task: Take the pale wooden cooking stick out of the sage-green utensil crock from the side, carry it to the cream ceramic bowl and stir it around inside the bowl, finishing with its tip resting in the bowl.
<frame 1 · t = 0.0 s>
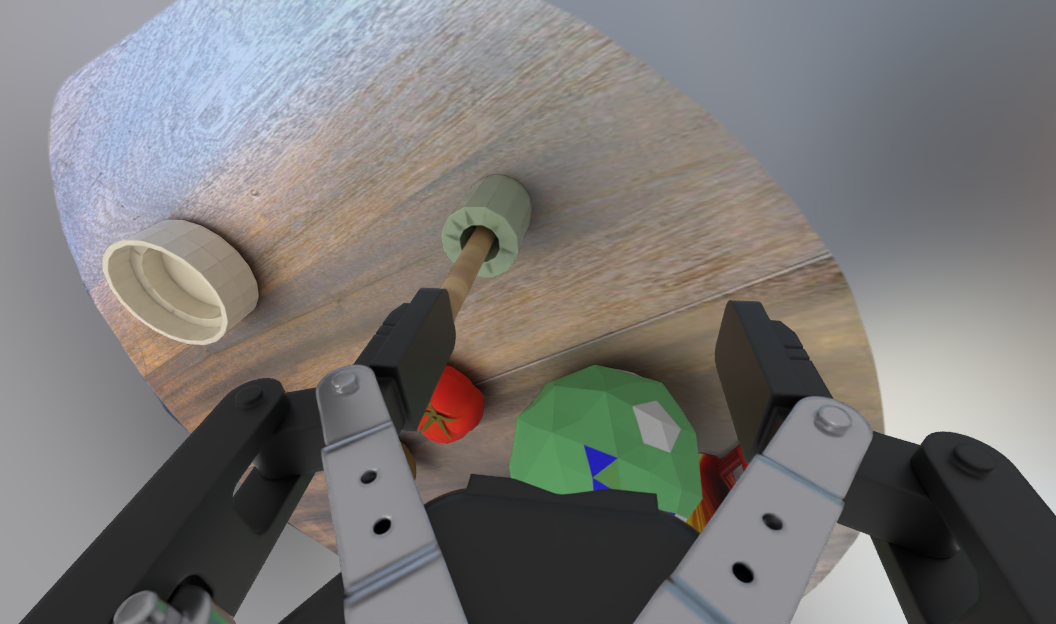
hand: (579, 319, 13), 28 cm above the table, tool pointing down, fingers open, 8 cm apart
crock: (499, 207, 41), on the table
stick: (497, 211, 40), point 1 cm above the table, touching crock
potato: (405, 445, 65), on the table
tomato: (448, 382, 56), on the table
mug: (697, 464, 58), on the table
decorative sphere: (603, 394, 53), on the table
bowl: (208, 269, 51), on the table
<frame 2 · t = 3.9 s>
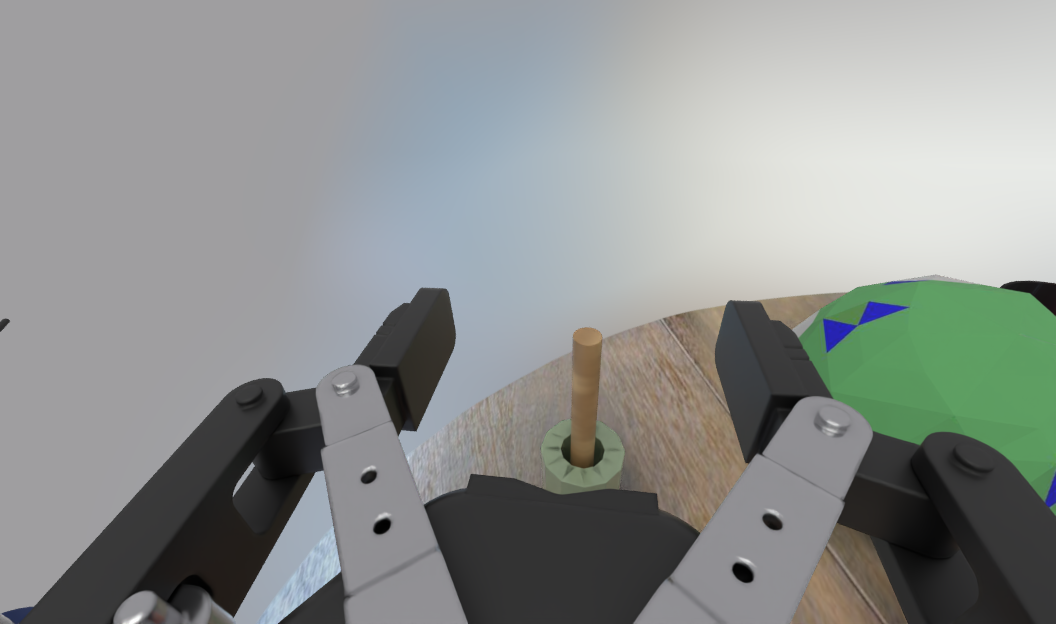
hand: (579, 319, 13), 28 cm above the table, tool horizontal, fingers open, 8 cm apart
crock: (579, 507, 37), on the table
stick: (580, 501, 37), point 1 cm above the table, touching crock
mug: (968, 401, 45), on the table
decorative sphere: (868, 475, 39), on the table
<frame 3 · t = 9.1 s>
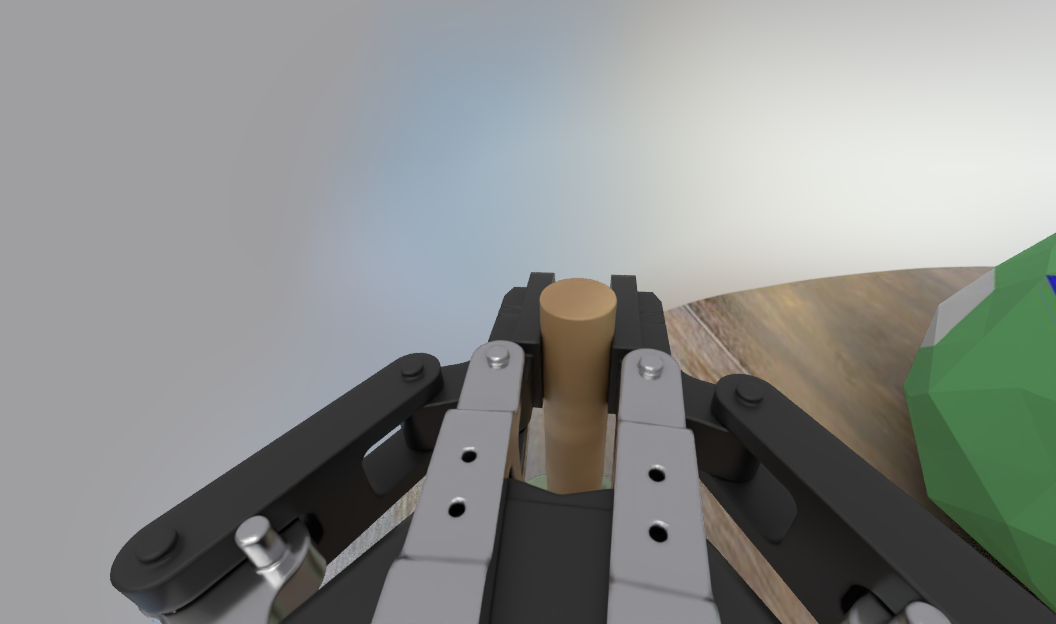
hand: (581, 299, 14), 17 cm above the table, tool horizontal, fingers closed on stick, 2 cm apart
stick: (571, 619, 20), point 1 cm above the table, touching crock, gripper
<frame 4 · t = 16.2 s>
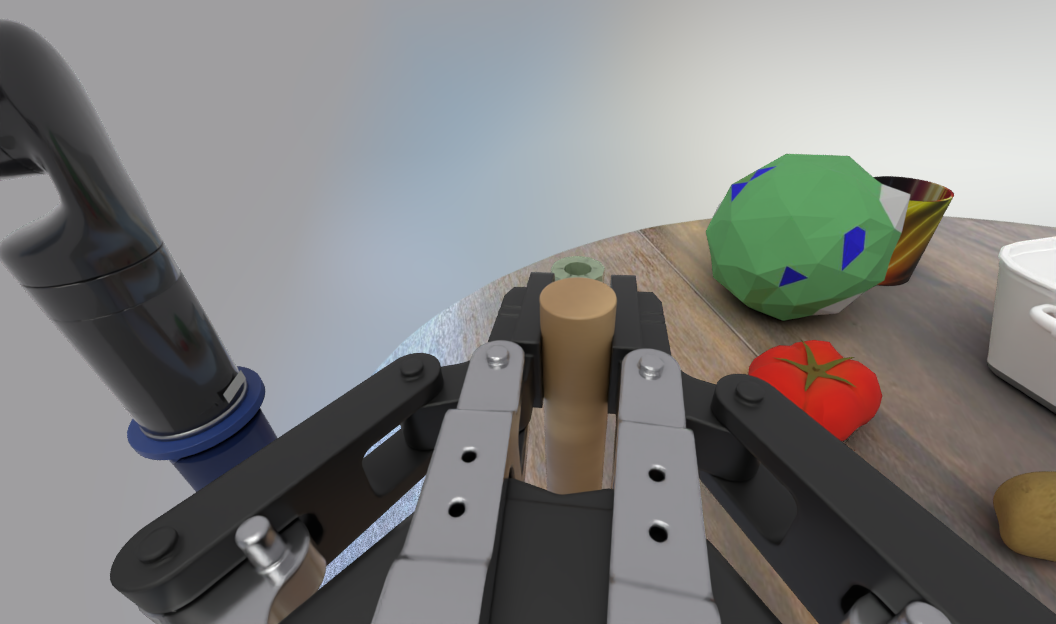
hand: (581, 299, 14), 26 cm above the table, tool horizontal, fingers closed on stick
crock: (576, 322, 56), on the table
stick: (571, 618, 20), point 10 cm above the table, touching gripper
potato: (1033, 549, 31), on the table
tomato: (795, 415, 42), on the table
mug: (851, 268, 64), on the table
decorative sphere: (772, 304, 57), on the table
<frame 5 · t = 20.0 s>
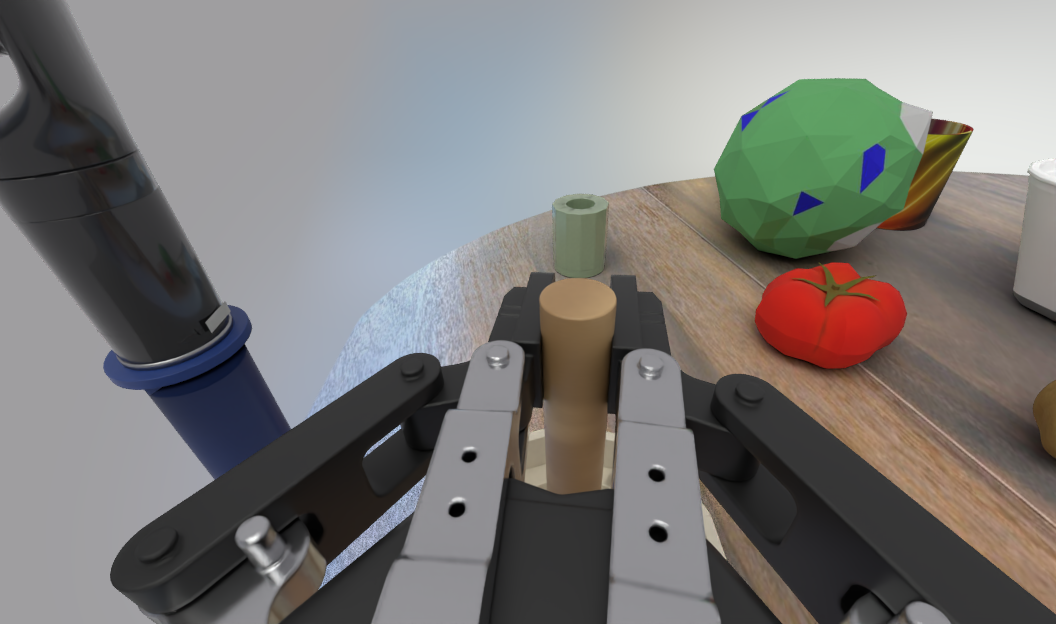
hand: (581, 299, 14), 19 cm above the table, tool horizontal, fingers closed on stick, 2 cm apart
crock: (579, 265, 53), on the table
stick: (571, 619, 20), point 3 cm above the table, touching gripper
tomato: (812, 343, 40), on the table
mug: (864, 216, 62), on the table
decorative sphere: (782, 247, 55), on the table
bowl: (573, 595, 23), on the table
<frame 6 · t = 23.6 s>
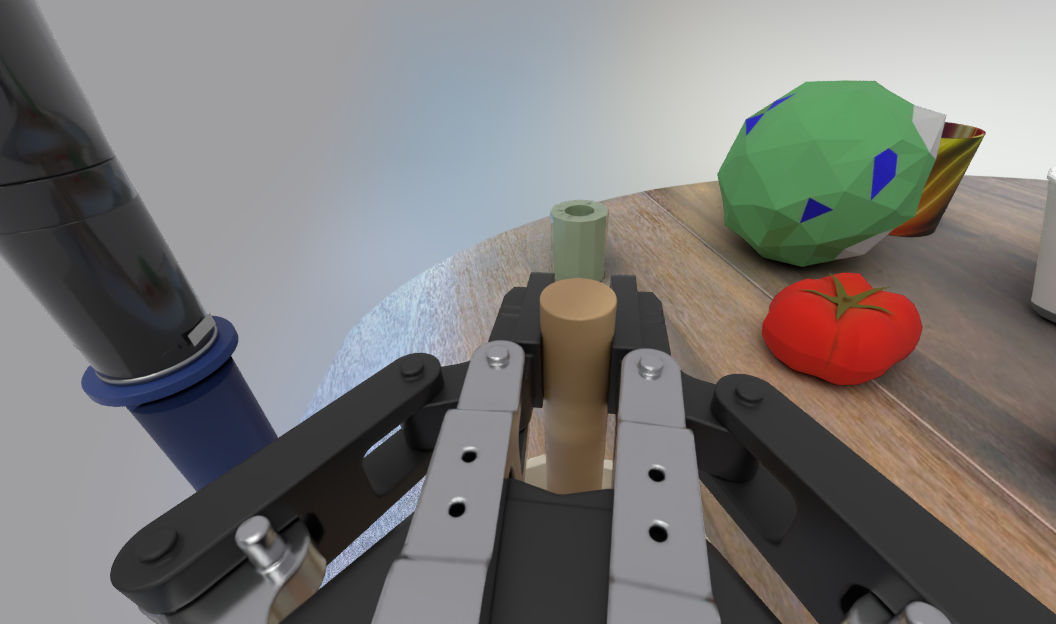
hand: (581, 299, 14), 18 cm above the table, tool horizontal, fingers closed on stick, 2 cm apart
crock: (578, 273, 52), on the table
stick: (571, 619, 20), point 2 cm above the table, touching gripper
tomato: (822, 357, 38), on the table
mug: (871, 221, 60), on the table
decorative sphere: (788, 254, 53), on the table
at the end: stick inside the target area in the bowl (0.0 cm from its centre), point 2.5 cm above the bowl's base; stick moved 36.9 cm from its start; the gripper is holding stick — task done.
